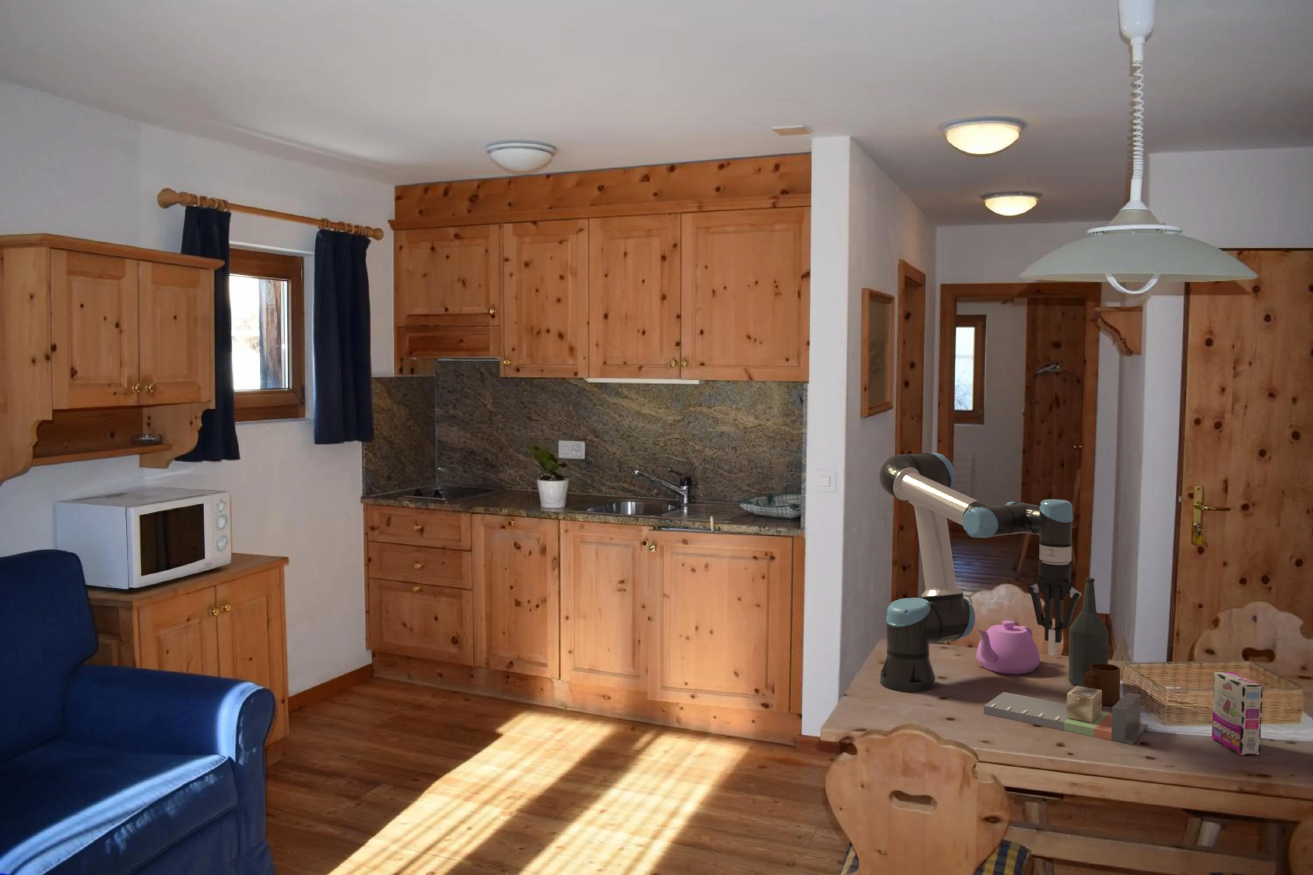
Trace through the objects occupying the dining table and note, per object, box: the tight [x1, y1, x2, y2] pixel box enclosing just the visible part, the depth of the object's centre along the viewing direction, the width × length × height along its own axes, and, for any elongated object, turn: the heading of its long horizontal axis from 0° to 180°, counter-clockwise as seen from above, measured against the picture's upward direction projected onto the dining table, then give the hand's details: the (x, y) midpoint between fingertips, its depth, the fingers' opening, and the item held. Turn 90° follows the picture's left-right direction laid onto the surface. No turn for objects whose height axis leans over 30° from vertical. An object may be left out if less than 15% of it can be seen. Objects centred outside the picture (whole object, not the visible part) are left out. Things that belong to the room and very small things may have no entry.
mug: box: [1083, 663, 1121, 707], centre depth 270 cm, size 12×8×9 cm, turn 120°
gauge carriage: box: [1066, 686, 1103, 723], centre depth 253 cm, size 6×10×6 cm, turn 141°
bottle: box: [1068, 577, 1109, 687], centre depth 285 cm, size 10×10×30 cm
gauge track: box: [983, 691, 1112, 741], centre depth 259 cm, size 31×14×2 cm, turn 51°
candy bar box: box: [1211, 671, 1264, 756], centre depth 238 cm, size 11×5×16 cm, turn 5°
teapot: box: [975, 619, 1041, 675], centre depth 302 cm, size 25×18×14 cm
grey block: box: [1110, 692, 1149, 746], centre depth 248 cm, size 5×14×8 cm, turn 141°
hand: (1052, 654), depth 258 cm, fingers closed
